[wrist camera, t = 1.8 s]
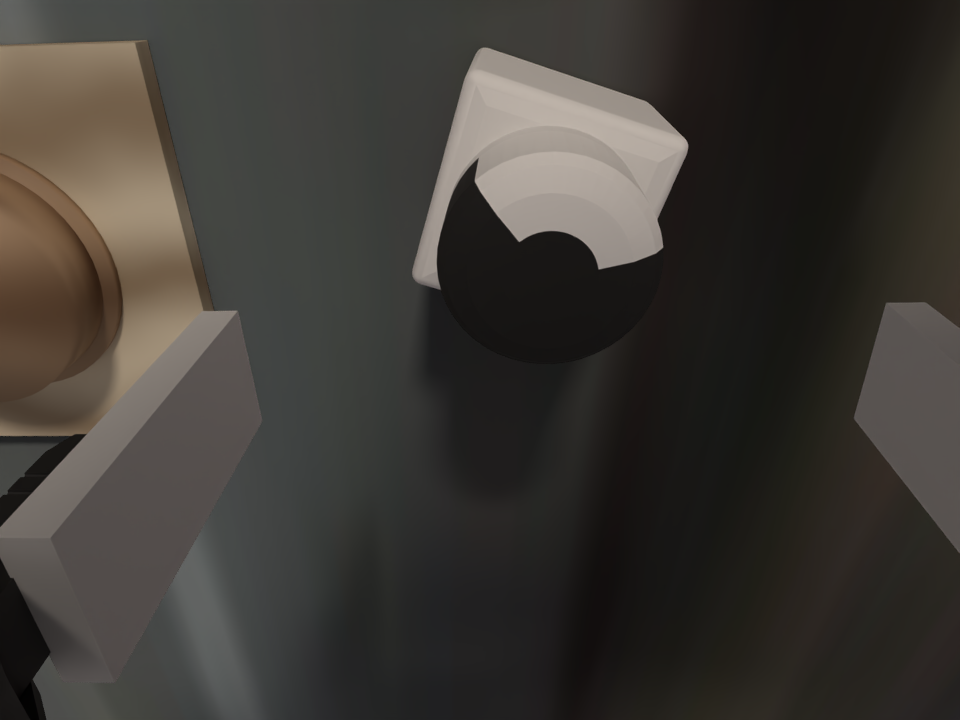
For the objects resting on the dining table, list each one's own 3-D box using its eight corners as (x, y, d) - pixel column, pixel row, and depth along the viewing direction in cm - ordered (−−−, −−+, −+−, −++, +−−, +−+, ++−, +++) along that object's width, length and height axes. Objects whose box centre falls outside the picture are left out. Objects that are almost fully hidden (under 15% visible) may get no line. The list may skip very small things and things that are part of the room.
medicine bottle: (586, 265, 30) (624, 421, 20) (430, 217, 29) (384, 354, 19) (653, 102, 27) (742, 187, 16) (478, 43, 26) (454, 93, 16)
